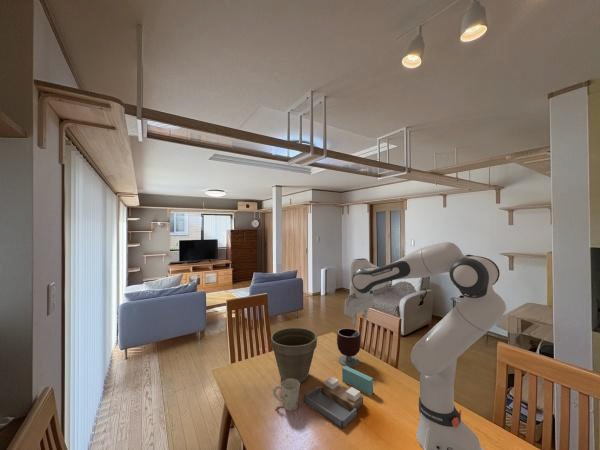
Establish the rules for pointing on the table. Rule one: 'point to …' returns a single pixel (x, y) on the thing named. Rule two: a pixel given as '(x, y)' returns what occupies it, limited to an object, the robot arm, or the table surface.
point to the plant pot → (294, 352)
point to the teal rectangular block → (357, 380)
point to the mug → (289, 393)
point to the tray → (329, 408)
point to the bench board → (341, 397)
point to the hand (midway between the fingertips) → (359, 320)
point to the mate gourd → (348, 346)
